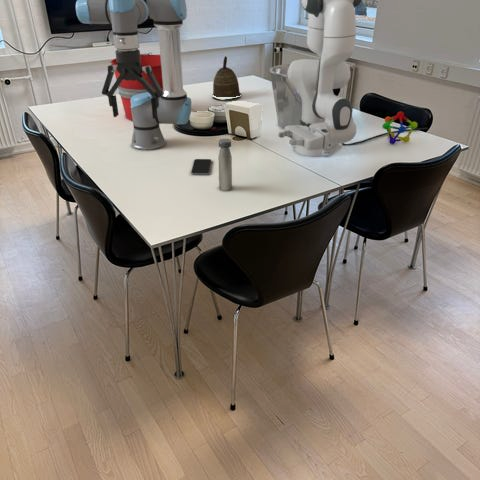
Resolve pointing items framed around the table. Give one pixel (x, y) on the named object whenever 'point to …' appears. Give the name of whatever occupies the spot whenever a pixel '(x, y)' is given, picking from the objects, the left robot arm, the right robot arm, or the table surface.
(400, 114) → the educational toy
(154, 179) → the table surface
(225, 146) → the cap
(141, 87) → the bucket
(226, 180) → the bottle
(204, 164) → the smartphone
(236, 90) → the bell
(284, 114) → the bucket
